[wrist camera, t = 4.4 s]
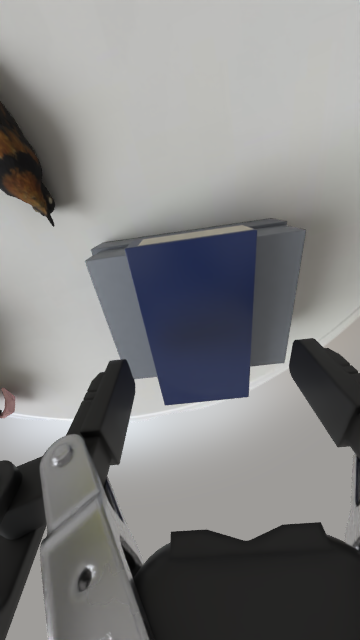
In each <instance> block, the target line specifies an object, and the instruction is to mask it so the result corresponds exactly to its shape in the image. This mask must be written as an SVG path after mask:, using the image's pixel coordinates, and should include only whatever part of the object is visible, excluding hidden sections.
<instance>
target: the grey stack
mask: <svg viewBox="0 0 360 640" xmlns="http://www.w3.org/2000/svg"><path fill="white" fill-rule="evenodd" d="M237 225H245V226H248V227H251V228H254V229H256V230H257V248H256V267H255V285H254V304H253V322H252V341H251V360H250V366H259V365H268V364H277V363H284V362H285V356H286V350H287V343H288V337H289V331H290V325H291V319H292V313H293V307H294V301H295V295H296V289H297V283H298V276H299V270H300V264H301V258H302V252H303V246H304V240H305V234H306V230H305V229H301V228H296V227H292V226H287V221H283V220H278V219H272V218H270V219H263V220H256V221H249V222H242V223H236V224H229V225H222V226H215V227H208V228H201V229H194V230H187V231H181V232H174V233H167V234H160V235H153V236H146V237H139V238H133V239H126V240H119V241H112V242H105V243H101V244H100V245H98V246H96V247H94V248H93V249H91V252H92V255H93V256H92V257H90V258H89V259H87V260H86V261H85V263H86V266H87V268H88V271H89V274H90V277H91V279H92V282H93V285H94V288H95V290H96V293H97V296H98V299H99V301H100V304H101V307H102V310H103V312H104V315H105V318H106V321H107V323H108V326H109V329H110V332H111V334H112V337H113V340H114V343H115V345H116V348H117V351H118V354H119V356H120V359H121V360H122V359H126V360H127V361H128V364H129V367H130V370H131V373H132V376H133V378H134V379H140V378H149V377H157V373H156V369H155V365H154V361H153V357H152V354H151V350H150V346H149V342H148V338H147V334H146V331H145V327H144V323H143V319H142V315H141V311H140V307H139V304H138V300H137V296H136V292H135V288H134V284H133V281H132V277H131V273H130V269H129V265H128V261H127V257H126V254H125V250H124V249H125V248H126V247H127V246H128V245H129V244H130V243H131V242H132V241H134V240H141V239H148V238H155V237H162V236H168V235H175V234H182V233H189V232H196V231H203V230H210V229H217V228H224V227H231V226H237Z"/></svg>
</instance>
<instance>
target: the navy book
mask: <svg viewBox="0 0 360 640" xmlns="http://www.w3.org/2000/svg"><path fill="white" fill-rule="evenodd" d="M256 248H257V230H256V229H254V228H251V227H248V226H245V225H237V226H231V227H224V228H217V229H210V230H203V231H196V232H189V233H182V234H175V235H168V236H162V237H155V238H148V239H141V240H134V241H132V242H131V243H130V244H129V245H128V246H127V247H126V248H125V249H124V250H125V254H126V257H127V261H128V265H129V269H130V273H131V277H132V281H133V284H134V288H135V292H136V296H137V300H138V304H139V307H140V311H141V315H142V319H143V323H144V327H145V331H146V334H147V338H148V342H149V346H150V350H151V354H152V357H153V361H154V365H155V369H156V373H157V377H158V381H159V384H160V388H161V392H162V396H163V400H164V404H165V405H174V404H184V403H194V402H203V401H213V400H223V399H233V398H242V397H248V396H249V378H250V360H251V341H252V322H253V304H254V285H255V267H256Z"/></svg>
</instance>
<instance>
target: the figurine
mask: <svg viewBox="0 0 360 640" xmlns="http://www.w3.org/2000/svg"><path fill="white" fill-rule="evenodd" d="M2 392H3V395H4V397H5V409H4V411H3V412H2V410H0V418H5V417H7V416H8V415H10V414H12V413H13V412H14V411H15V396H14V395H13V394H11V393H10V392H9V391H8V390H7V389H5V388H2ZM1 412H2V413H1Z"/></svg>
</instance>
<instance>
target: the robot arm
mask: <svg viewBox="0 0 360 640" xmlns="http://www.w3.org/2000/svg"><path fill="white" fill-rule="evenodd" d="M289 369H290V373H291V376H292V378H293V380H294V381H295V383H296V384H297V386H298V387H299V389H300V390H301V392H302V393H303V395H304V396H305V398H306V400H307V401H308V403H309V404H310V406H311V407H312V409H313V410H314V411H315V413H316V415H317V416H318V418H319V419H320V421H321V422H322V424H323V425H324V427H325V429H326V430H327V432H328V433H329V435H330V436H331V438H332V439H333V441H334V442H335V444H336V445H337V447H346V446H350V447H351V448H352V449H353V451H354V452H355V454H354V456H353V469H352V493H351V510H350V516H349V519H348V523H347V527H346V533H345V542H343V541H341V540H339V539H337V538H334V537H332V536H330V535H326V533H325V531H324V529H323V526H322V524H321V522H319V523H304V524H288V525H281V526H279V527H277V528H275V529H273V530H271V531H269V532H267V533H265V534H262V535H260V536H258V537H256V538H254V539H252V540H249V541H243V540H239V539H236V538H233V537H230V536H226V535H223V534H220V533H216V532H213V531H209V530H192V531H176V532H171V543H169V544H166V545H165V546H163V547H162V548H160V549H159V550H157V551H156V552H155V553H154V554H153V555H152V556H151V557H149V558H148V560H147V561H146V562H145V563H144V561H143V559H142V556H141V554H140V551H139V549H138V547H137V544H136V543H135V540H134V538H133V536H132V534H131V532H130V530H129V529H128V526H127V524H126V522H125V519H124V517H123V514H122V512H121V509H120V507H119V504H118V502H117V499H116V497H115V494H114V492H113V489H112V487H111V484H110V482H109V479H108V477H107V474H108V471H109V467H110V465H118V464H119V463H120V459H121V454H122V450H123V445H124V441H125V436H126V432H127V427H128V423H129V418H130V414H131V409H132V405H133V400H134V396H135V382H134V378H133V376H132V373H131V370H130V367H129V364H128V361H127V360H126V359H122V360H113V361H110V362H109V363H108V366H107V368H106V370H105V372H101V373H99V374H98V375H97V376H96V377H95V379H94V380H93V381H92V382H91V384H90V386H89V388H88V392H87V393H86V395H85V397H84V401H82V403H81V405H80V407H79V409H78V412H77V414H76V416H75V418H74V420H73V422H72V424H71V426H70V428H69V431H68V433H67V434H66V436H64V437H62V438H60V439H58V440H57V441H56V442H54V443H53V444H52V445H51V446H50V447H49V448H48V450H47V451H46V452H45V454H44V455H43V456H42V457H40V458H37V459H35V460H32V461H30V462H27V463H25V464H22V465H20V466H17V467H16V466H15V465H13V464H12V463H11V462H10V461H0V640H5V638H6V635H7V633H8V630H9V627H10V624H11V622H12V619H13V616H14V613H15V610H16V608H17V605H18V602H19V600H20V597H21V594H22V591H23V588H24V585H25V583H26V580H27V577H28V575H29V572H30V569H31V566H32V564H33V561H34V558H35V556H36V553H37V550H38V547H39V544H40V542H41V539H42V536H43V533H44V530H45V528H46V525H47V537H46V538H45V539H44V540H43V541H42V543H41V547H40V562H41V572H42V582H43V593H44V602H45V613H46V623H47V633H48V640H360V373H358V371H357V370H356V369H355V368H354V367H353V366H350V364H349V362H347V361H346V360H345V359H344V358H343V357H342V356H341V355H340V354H338V353H336V352H334V351H332V350H330V349H329V348H323V347H322V346H321V345H320V344H319V343H318V342H317V341H316V340H315V339H313V338H310V339H301V340H295V341H294V342H293V346H292V352H291V358H290V363H289Z"/></svg>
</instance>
